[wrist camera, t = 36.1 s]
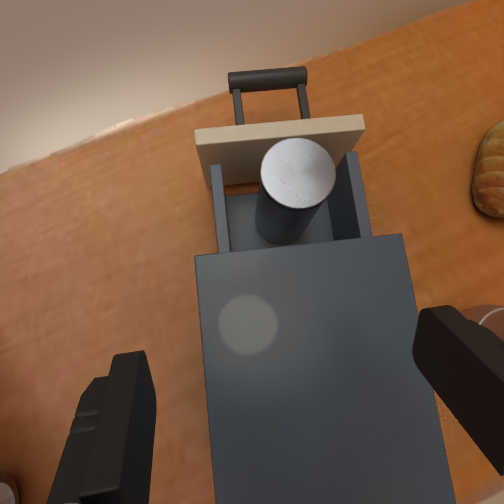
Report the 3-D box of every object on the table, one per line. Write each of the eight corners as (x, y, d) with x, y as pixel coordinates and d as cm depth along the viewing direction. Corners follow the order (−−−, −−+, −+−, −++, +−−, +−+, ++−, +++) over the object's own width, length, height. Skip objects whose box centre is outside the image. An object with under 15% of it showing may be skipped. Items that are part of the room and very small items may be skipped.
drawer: (199, 114, 32) (186, 52, 25) (324, 102, 33) (348, 39, 25) (221, 345, 28) (214, 353, 21) (363, 328, 29) (404, 330, 22)
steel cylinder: (257, 247, 29) (264, 212, 20) (251, 197, 30) (255, 140, 20) (309, 242, 29) (342, 204, 20) (302, 192, 30) (330, 133, 21)
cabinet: (208, 275, 30) (193, 255, 21) (354, 259, 31) (402, 232, 22) (227, 477, 27) (219, 556, 18) (388, 455, 28) (460, 520, 19)
